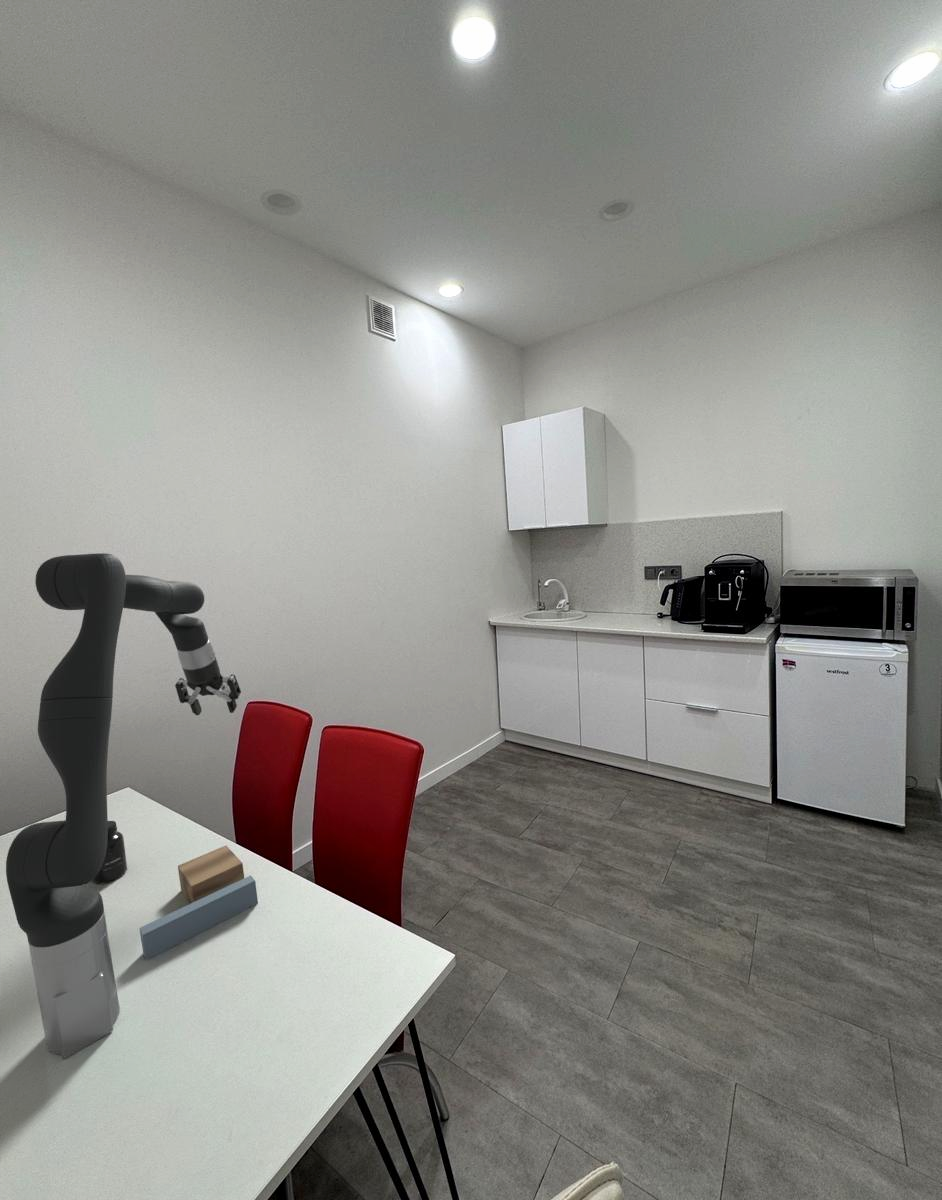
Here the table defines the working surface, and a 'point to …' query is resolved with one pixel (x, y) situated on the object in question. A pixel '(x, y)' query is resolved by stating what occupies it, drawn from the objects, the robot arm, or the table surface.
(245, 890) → the slate board
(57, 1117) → the table surface
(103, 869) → the supplement bottle
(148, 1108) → the table surface
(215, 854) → the walnut block
